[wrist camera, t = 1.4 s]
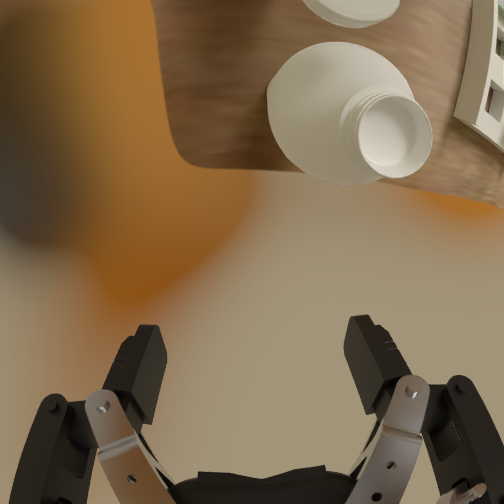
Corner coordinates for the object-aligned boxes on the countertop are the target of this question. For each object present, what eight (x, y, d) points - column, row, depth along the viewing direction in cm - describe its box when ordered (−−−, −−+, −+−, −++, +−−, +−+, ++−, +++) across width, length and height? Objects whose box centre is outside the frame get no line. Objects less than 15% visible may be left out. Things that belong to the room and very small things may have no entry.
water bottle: (331, 115, 27) (483, 223, 7) (276, 128, 28) (304, 270, 8) (310, 45, 22) (440, -43, 2) (252, 58, 24) (198, -32, 3)
